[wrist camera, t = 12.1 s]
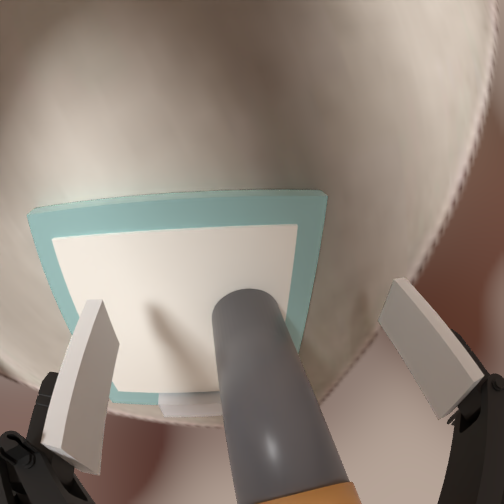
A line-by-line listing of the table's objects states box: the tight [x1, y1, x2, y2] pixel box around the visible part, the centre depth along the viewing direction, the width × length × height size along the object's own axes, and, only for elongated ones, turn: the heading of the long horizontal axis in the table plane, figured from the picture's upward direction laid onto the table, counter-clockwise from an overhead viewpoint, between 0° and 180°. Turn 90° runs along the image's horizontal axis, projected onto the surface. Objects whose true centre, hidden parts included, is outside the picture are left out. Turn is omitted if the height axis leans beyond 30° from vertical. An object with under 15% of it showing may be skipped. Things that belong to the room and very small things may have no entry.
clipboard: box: [27, 190, 328, 417], centre depth 17 cm, size 18×16×2 cm
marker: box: [212, 288, 362, 504], centre depth 10 cm, size 4×4×13 cm
